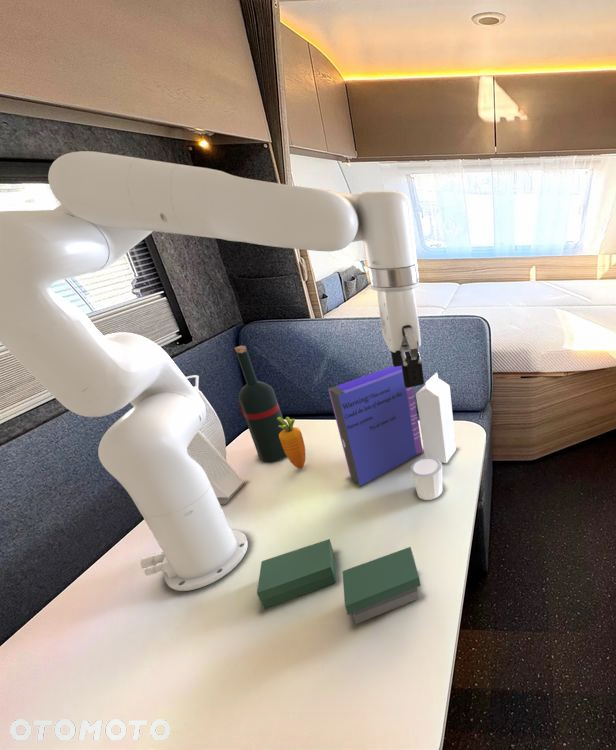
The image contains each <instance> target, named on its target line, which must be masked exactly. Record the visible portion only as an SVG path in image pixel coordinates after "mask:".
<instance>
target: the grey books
mask: <svg viewBox="0 0 616 750" xmlns="http://www.w3.org/2000/svg"><path fill="white" fill-rule="evenodd" d="M418 599H420V594H419V589H418V587H416V588H414V589H411V590H409V591H406V592H404V593H401V594H399V595H396V596H394V597H391V598H389V599H386V600H384V601H381V602H379V603H376V604H374V605H371V606H369V607H366V608H364V609H361V610H359V611H356V612H354V613H352V615H353V619H354V622H355V623H354V624H356V625H357V624H360V623H362V622H366V621H368V620H371V619H372V618H374V617H377V616H380V615H382V614H385V613H387V612H389V611H392V610H394V609H397V608H400V607H402V606H405V605H406V604H409V603H411V602H414V601H417V600H418Z"/></svg>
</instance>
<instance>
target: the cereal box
mask: <svg viewBox="0 0 616 750" xmlns="http://www.w3.org/2000/svg"><path fill="white" fill-rule="evenodd" d="M327 390H328V394H329V399H330V402H331V406H332V410H333V414H334V418H335V421H336V425H337V429H338V433H339V437H340V441H341V446H342V449H343V453H344V457H345V461H346V465H347V469H348V472H349V478H350V479H352V481H353V482H354V483H356V485H358V486H359V487H360V488H361V487H363V486H365V485H366V484H368V483H370V482H372V481H374V480H376V479H377V478H380V477H381V476H382V475H384V474H386V473H389V472H390V471H392V470H393V469H395V468H397V467H399V466H401V465H403V464H405V463H407V462H408V461H410V460H412V459H414V458H415V457H417V456H419V455H420V454H422V453H424V450H423V443H422V436H421V429H420V423H419V416H418V409H417V402H416V396H415V390H414V387H409V388H406V387H405V386H404V379H403V373H402V366H397V367H394V365H391V366H389V367H385V368H383V369H380V370H377V371H374V372H372V373H369V374H366V375H363V376H360V377H357V378H355V379H352V380H349V381H346V382H343V383H341V384H338V385H335V386H332V387H329V388H328V389H327Z"/></svg>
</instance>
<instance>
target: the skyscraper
mask: <svg viewBox="0 0 616 750" xmlns="http://www.w3.org/2000/svg"><path fill="white" fill-rule="evenodd" d="M185 377H186V378H187V380H188V379H192V378H195V384H194V386H193V387H194V389H195V390H196V391H197V393H198V394H199V395H200V397H201V398H202V400H203V402H204V404H205V407H206V419H205V421H204V423H203V425H202V427H201V428H200V429H199V431H198V432H197V433H196V435H195V436H194V437H193V439H192V441H191V442H190V443H189V445H188V447H187V453H188V455H189V456H190V457H191V458H192V459H193V460H194V461H195V462H197V463H198V464H199V465H200V466H201V467H202V468H203V470H204V472H205V473H206V475H207V478H208V480H209V482H210V484H211V486H212V488H213V491H214V493H215V495H216V497H217V499H218V502H219V504H220V506H224V505H226V504H227V503H228V502H229V501H230V500H231V499H232V498H233V496H235V494H237V492H239V490H240V489H241V488H242V487H243V486H244V485H245V484H246V482H245V481H244V479H243V478H242V477H241V476H240V474H238V473H237V471H236V470H235V469H234V468H233V467H232V465H231V464H230V462H228V461H227V446H226V444H227V443H226V437H225V432H224V429H223V425H222V422H221V420H220V418H219V416H218V414H217V412H216V411H215V408H213V406H212V404H211V403H210V402H209V401H208V399H207V398H206V396H205V395H204V394H203V392H202V391H201V390H200V388H199V380H200V376H199V375H197V374H193V375H188V376H185Z"/></svg>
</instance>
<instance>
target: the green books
mask: <svg viewBox="0 0 616 750" xmlns="http://www.w3.org/2000/svg"><path fill="white" fill-rule="evenodd" d="M336 574H337V573H336V558H335V551H334V548H333V545H332V542H331V539H330V538H328V539H324V540H322V541H319V542H316V543H313V544H309V545H307V546H303V547H301V548H298V549H295V550H291V551H287V552H286V553H282V554H280V555H277V556H272V557H270V558H267V559H264V560H261V562H260V570H259V575H258V583H257V590H256V594H257V597H258V599H259V602H260V603H261V605H262V607H263V609H264V610H266V609H268V608H271V607H275V606H276V605H279V604H282V603H284V602H285V603H286V602H288V601H291V600H293V599H296V598H299V597H301V596H304V595H307V594H310V593H312V592H314V591H315V592H316V591H318V590H320V589H323V588H326V587H328V586H331V585H334V584H336V583H337V578H336V577H337V576H336Z"/></svg>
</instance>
